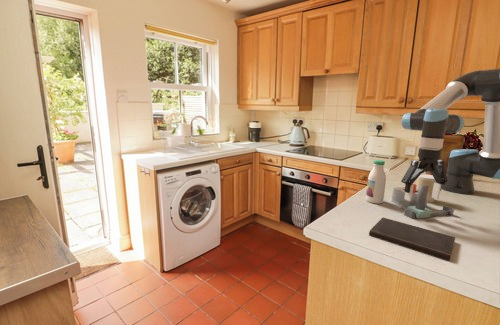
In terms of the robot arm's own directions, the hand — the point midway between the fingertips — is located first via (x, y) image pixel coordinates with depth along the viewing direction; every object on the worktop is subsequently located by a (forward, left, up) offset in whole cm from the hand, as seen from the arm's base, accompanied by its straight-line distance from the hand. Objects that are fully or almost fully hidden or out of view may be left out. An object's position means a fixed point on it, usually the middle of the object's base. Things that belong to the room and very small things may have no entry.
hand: (421, 199), depth 109 cm
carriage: (0, 0, -7) cm, 7 cm away
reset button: (-6, -12, -3) cm, 14 cm away
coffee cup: (-20, -17, -8) cm, 27 cm away
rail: (-5, 0, -7) cm, 9 cm away
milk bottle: (+7, -19, -8) cm, 22 cm away
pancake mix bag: (-72, -56, -8) cm, 92 cm away
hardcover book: (+19, +16, -8) cm, 26 cm away
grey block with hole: (-6, -12, -7) cm, 15 cm away
